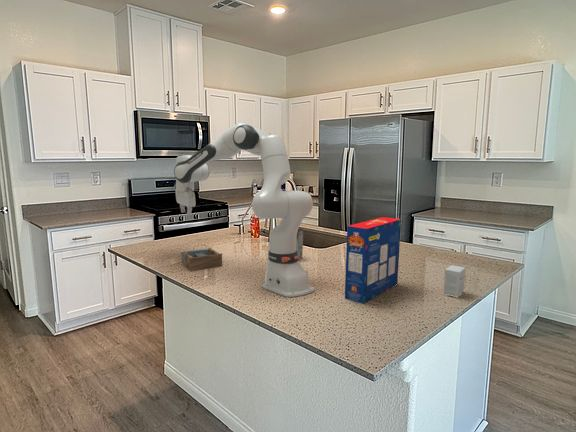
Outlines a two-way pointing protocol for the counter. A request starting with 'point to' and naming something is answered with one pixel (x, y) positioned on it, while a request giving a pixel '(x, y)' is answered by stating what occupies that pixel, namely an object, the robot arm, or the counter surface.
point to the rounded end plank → (191, 253)
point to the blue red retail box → (372, 258)
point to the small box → (454, 280)
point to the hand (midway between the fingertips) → (186, 213)
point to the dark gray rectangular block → (199, 255)
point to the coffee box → (299, 243)
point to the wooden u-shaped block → (202, 260)
